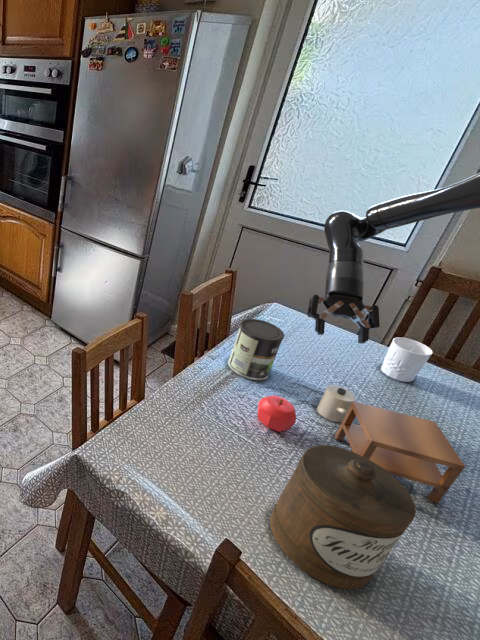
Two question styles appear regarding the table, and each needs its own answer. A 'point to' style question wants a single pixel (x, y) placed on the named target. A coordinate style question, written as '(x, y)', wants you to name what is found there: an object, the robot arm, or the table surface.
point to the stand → (402, 446)
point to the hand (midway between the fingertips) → (340, 338)
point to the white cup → (405, 359)
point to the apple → (276, 413)
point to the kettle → (335, 403)
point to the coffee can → (255, 349)
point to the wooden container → (340, 516)
